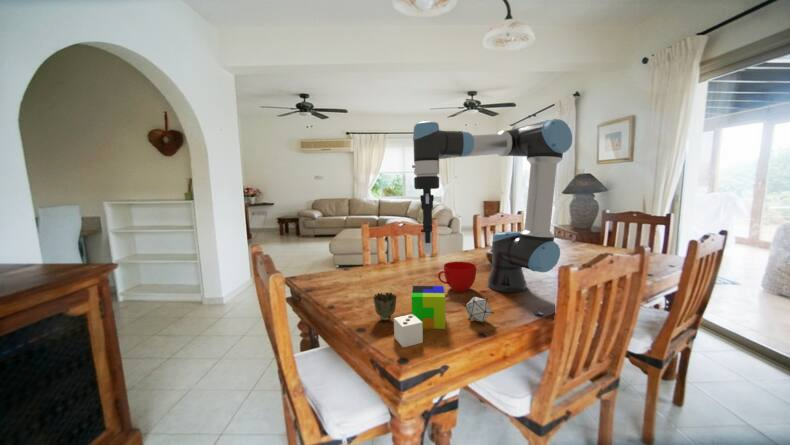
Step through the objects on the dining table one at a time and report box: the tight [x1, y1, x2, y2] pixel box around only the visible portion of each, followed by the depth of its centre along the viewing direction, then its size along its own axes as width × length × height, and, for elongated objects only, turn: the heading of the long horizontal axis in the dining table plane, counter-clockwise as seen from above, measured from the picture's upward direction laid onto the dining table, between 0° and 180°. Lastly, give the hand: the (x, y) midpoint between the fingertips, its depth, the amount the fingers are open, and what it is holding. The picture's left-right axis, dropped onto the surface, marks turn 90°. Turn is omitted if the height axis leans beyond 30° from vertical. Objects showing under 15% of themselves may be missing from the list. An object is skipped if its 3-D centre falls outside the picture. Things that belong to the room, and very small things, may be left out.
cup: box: [373, 292, 397, 322], centre depth 99 cm, size 8×7×8 cm
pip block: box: [393, 313, 424, 348], centre depth 86 cm, size 6×6×6 cm
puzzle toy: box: [411, 285, 446, 330], centre depth 98 cm, size 10×10×10 cm
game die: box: [462, 293, 495, 326], centre depth 97 cm, size 9×8×10 cm
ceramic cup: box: [437, 261, 477, 293], centre depth 125 cm, size 13×17×10 cm
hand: (427, 250), depth 95 cm, fingers open, 7 cm apart
